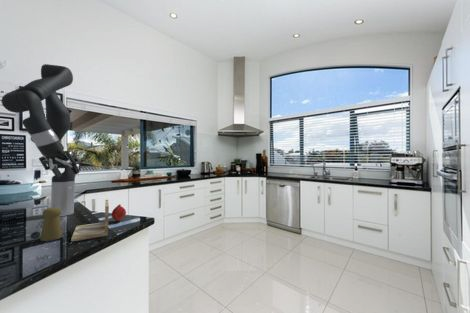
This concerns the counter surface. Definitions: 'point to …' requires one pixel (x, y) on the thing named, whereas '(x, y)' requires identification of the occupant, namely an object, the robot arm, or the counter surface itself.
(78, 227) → the condiment stand
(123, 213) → the onion
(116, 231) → the counter surface
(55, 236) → the olive yellow tapered cylinder
